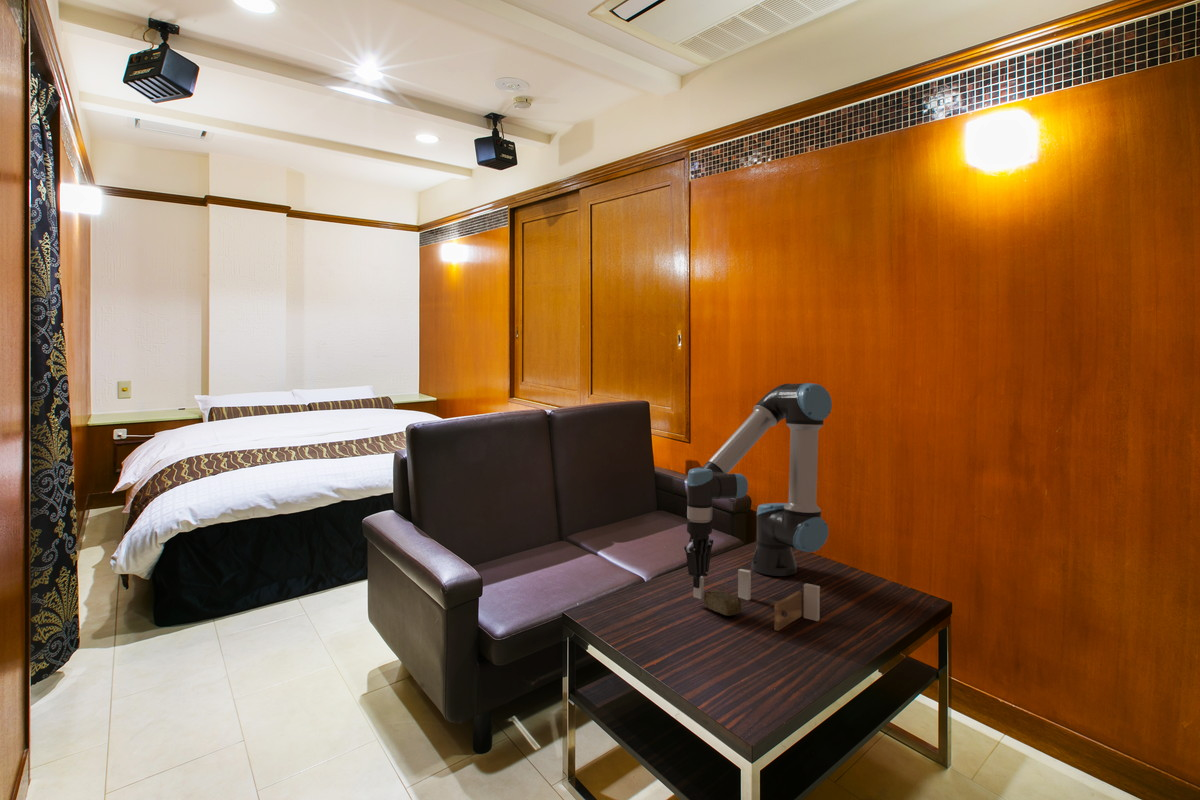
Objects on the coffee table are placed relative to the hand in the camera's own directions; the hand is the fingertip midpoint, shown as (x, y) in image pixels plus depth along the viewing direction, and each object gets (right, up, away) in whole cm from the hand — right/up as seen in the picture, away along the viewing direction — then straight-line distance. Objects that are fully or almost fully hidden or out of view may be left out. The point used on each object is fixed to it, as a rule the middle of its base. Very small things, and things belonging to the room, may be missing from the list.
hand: (698, 597), depth 177 cm
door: (+24, -3, -12) cm, 27 cm away
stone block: (+8, -4, -7) cm, 11 cm away
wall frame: (+23, -3, -1) cm, 23 cm away
